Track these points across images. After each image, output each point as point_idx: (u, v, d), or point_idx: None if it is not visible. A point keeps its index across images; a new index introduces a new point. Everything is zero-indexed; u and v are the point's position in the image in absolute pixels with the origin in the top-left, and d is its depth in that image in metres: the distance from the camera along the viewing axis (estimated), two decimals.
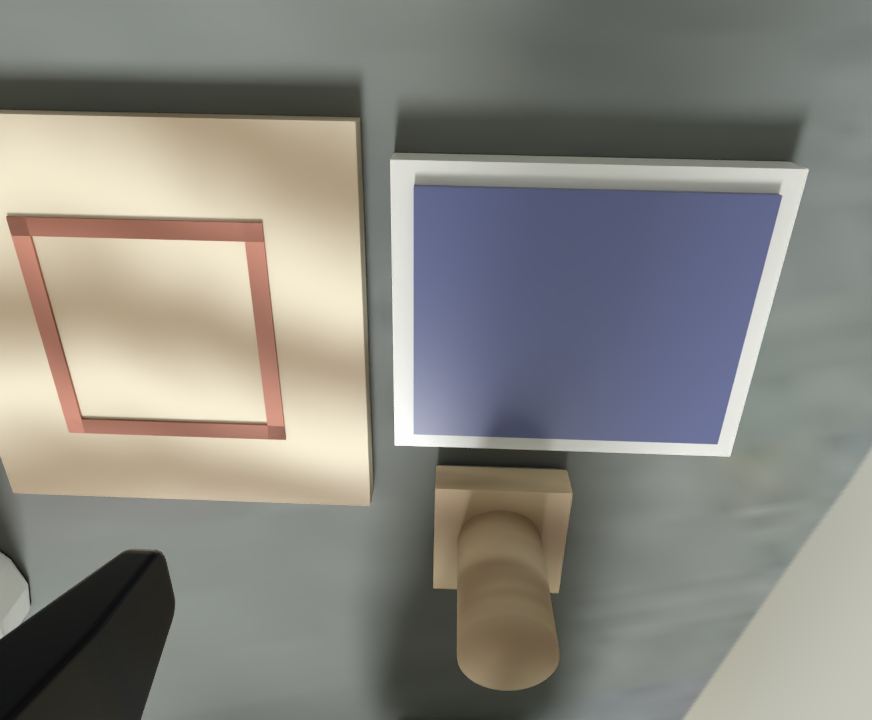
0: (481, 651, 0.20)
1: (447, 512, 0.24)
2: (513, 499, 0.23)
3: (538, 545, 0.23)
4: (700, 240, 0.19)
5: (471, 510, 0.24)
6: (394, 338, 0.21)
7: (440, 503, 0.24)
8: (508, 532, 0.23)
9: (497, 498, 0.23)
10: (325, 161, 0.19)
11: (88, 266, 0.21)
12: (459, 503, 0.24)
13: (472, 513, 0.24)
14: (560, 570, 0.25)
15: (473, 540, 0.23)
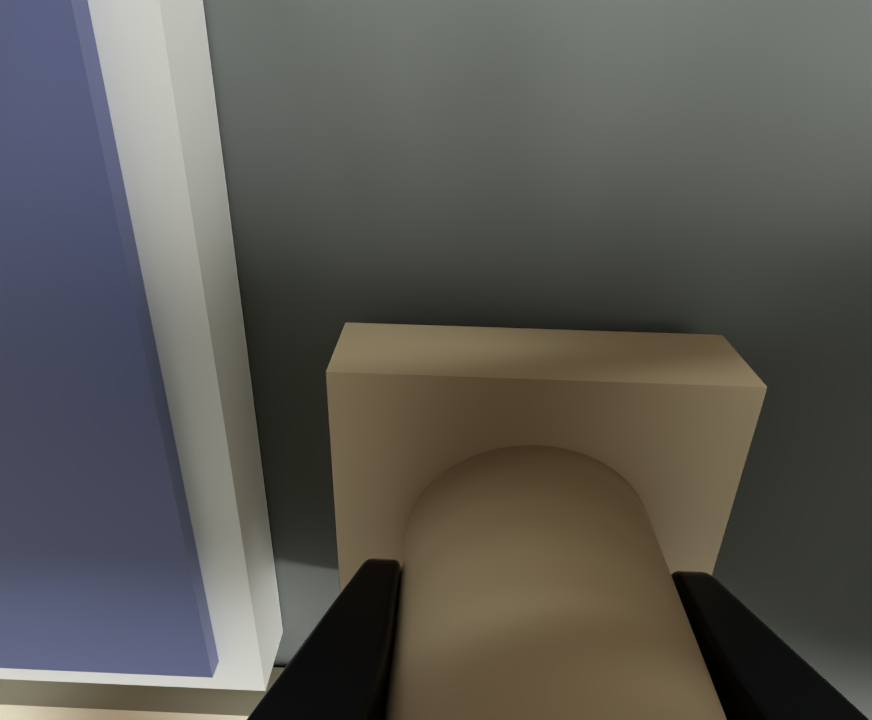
0: None
1: None
2: (363, 517, 0.08)
3: (453, 526, 0.07)
4: None
5: None
6: (16, 677, 0.11)
7: None
8: (398, 601, 0.07)
9: (364, 551, 0.09)
10: None
11: None
12: None
13: None
14: (664, 378, 0.07)
15: None
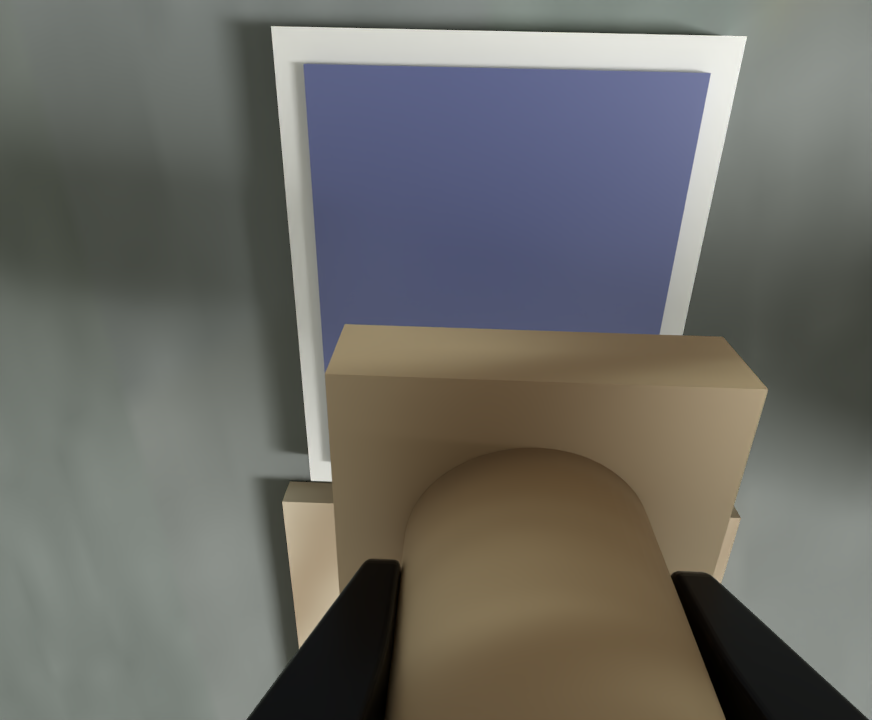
0: None
1: None
2: (362, 520, 0.08)
3: (453, 530, 0.07)
4: (370, 164, 0.15)
5: None
6: None
7: None
8: (397, 604, 0.07)
9: (363, 553, 0.09)
10: (320, 526, 0.20)
11: None
12: None
13: None
14: (664, 380, 0.07)
15: None
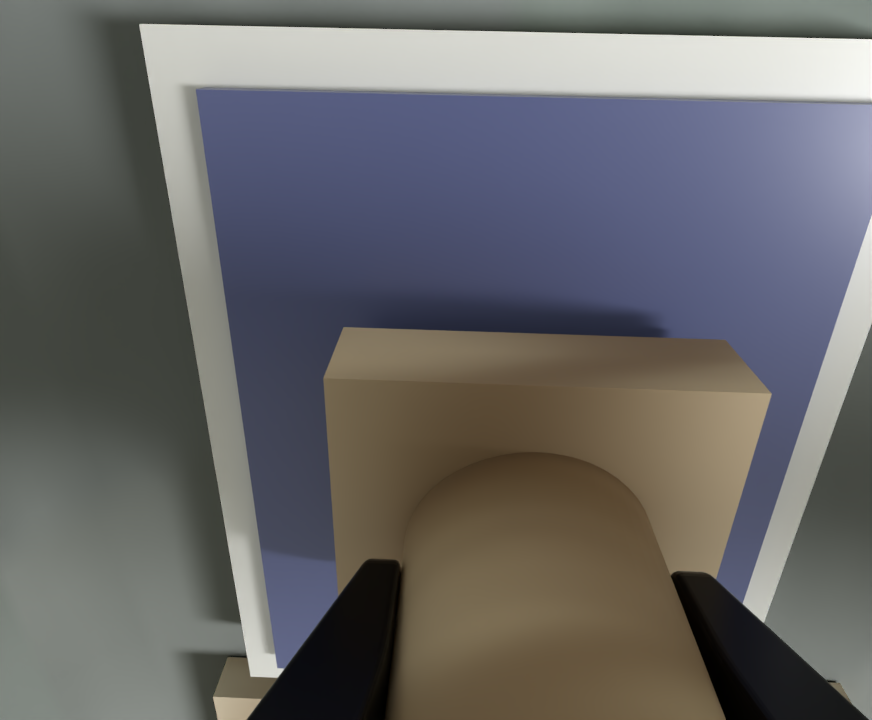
0: None
1: None
2: (361, 525, 0.08)
3: (453, 537, 0.07)
4: (317, 253, 0.09)
5: None
6: None
7: None
8: None
9: (363, 558, 0.08)
10: None
11: None
12: None
13: None
14: (666, 384, 0.07)
15: None
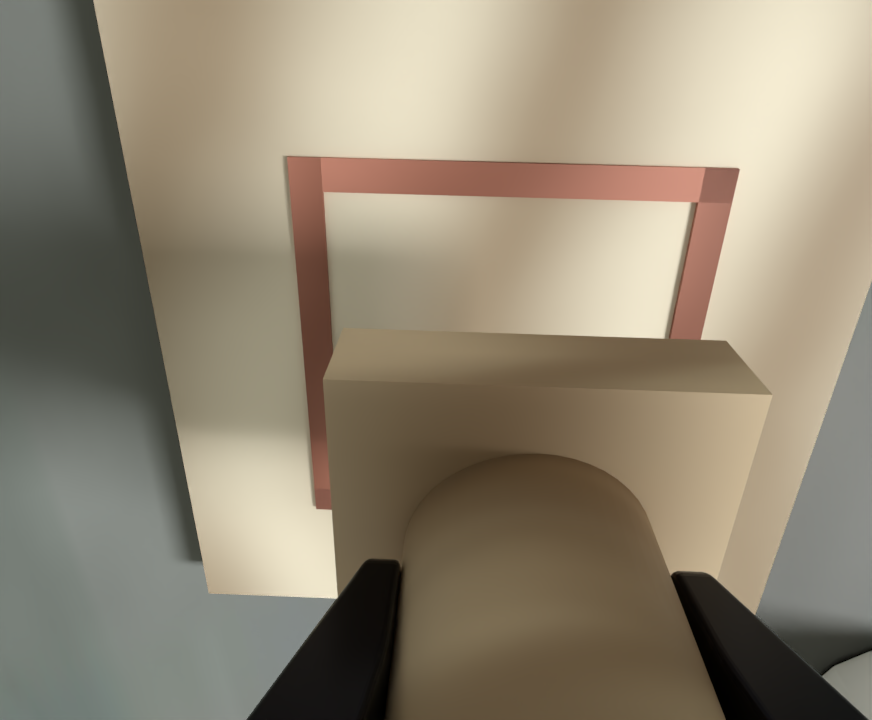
0: None
1: None
2: (361, 526, 0.08)
3: (453, 537, 0.07)
4: None
5: None
6: None
7: None
8: (396, 613, 0.07)
9: (362, 559, 0.08)
10: (165, 23, 0.11)
11: None
12: None
13: None
14: (667, 385, 0.07)
15: None
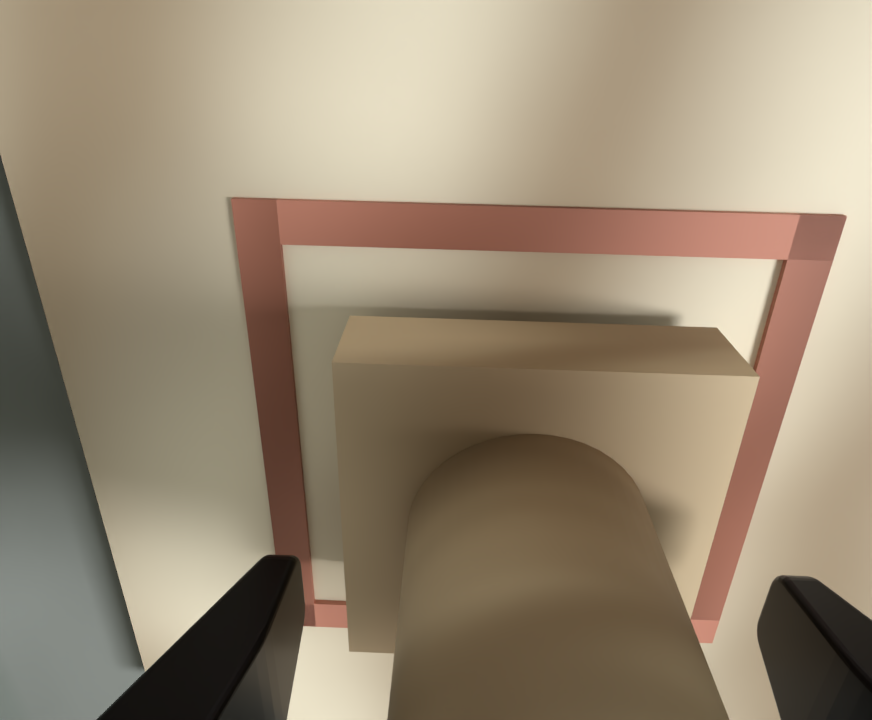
0: None
1: None
2: (367, 505, 0.09)
3: (456, 511, 0.07)
4: None
5: None
6: None
7: (393, 643, 0.10)
8: (402, 585, 0.08)
9: (368, 537, 0.09)
10: (55, 17, 0.08)
11: None
12: (389, 611, 0.09)
13: None
14: (660, 368, 0.08)
15: None
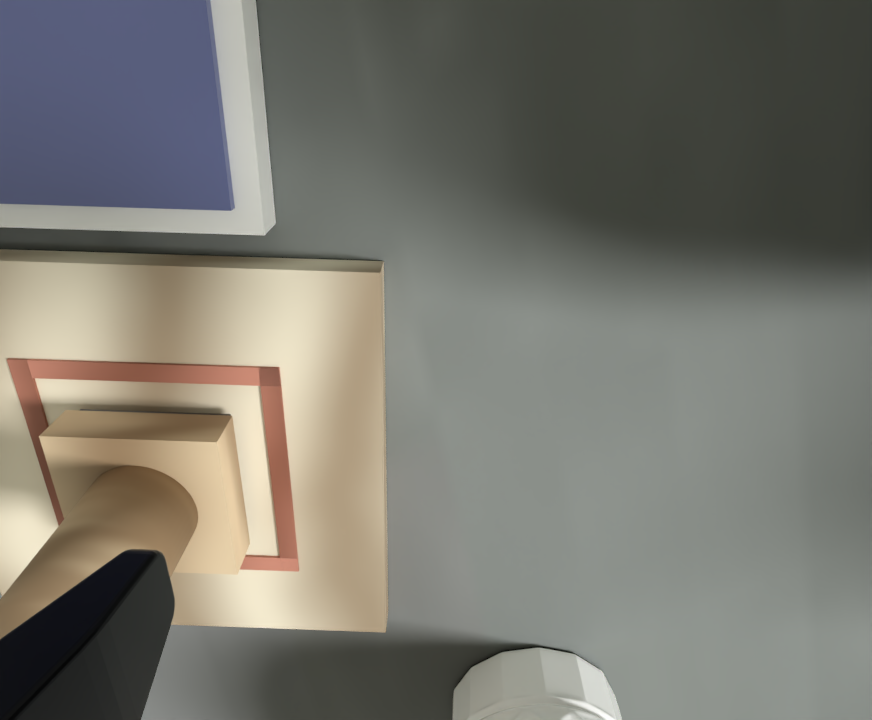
0: None
1: None
2: (69, 496, 0.19)
3: (82, 498, 0.17)
4: None
5: None
6: (102, 228, 0.17)
7: None
8: None
9: None
10: None
11: None
12: None
13: None
14: (178, 438, 0.18)
15: None
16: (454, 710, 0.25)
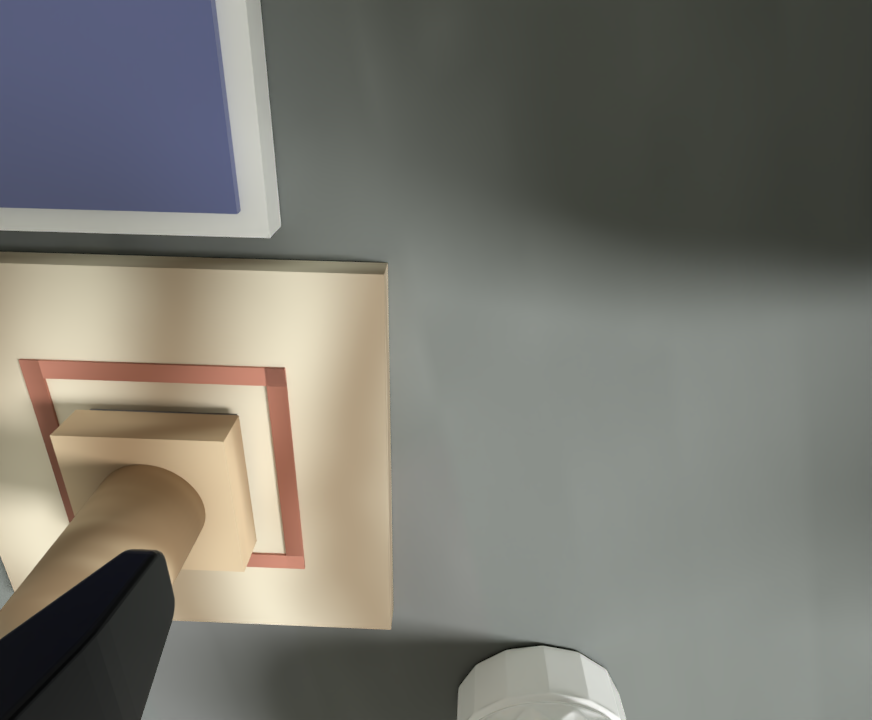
0: None
1: None
2: (79, 494, 0.19)
3: (92, 497, 0.18)
4: None
5: None
6: (111, 231, 0.17)
7: None
8: None
9: None
10: None
11: None
12: None
13: None
14: (186, 437, 0.18)
15: None
16: (459, 707, 0.26)
